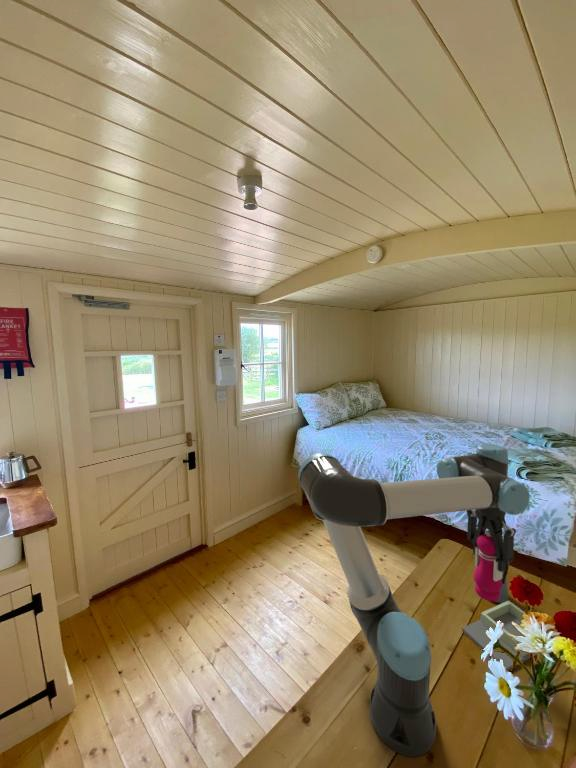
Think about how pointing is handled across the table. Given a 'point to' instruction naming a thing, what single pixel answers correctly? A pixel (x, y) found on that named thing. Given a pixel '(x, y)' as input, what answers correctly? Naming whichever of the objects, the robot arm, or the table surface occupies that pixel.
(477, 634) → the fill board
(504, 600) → the moka pot
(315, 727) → the table surface
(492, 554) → the pepper mill
